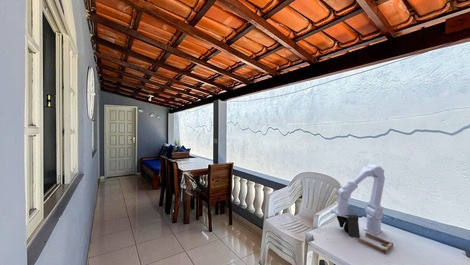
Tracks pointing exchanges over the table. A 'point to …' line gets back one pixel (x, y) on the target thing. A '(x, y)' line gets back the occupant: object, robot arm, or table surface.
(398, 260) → the table surface
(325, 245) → the table surface
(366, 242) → the walnut bracket
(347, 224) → the phone stand
